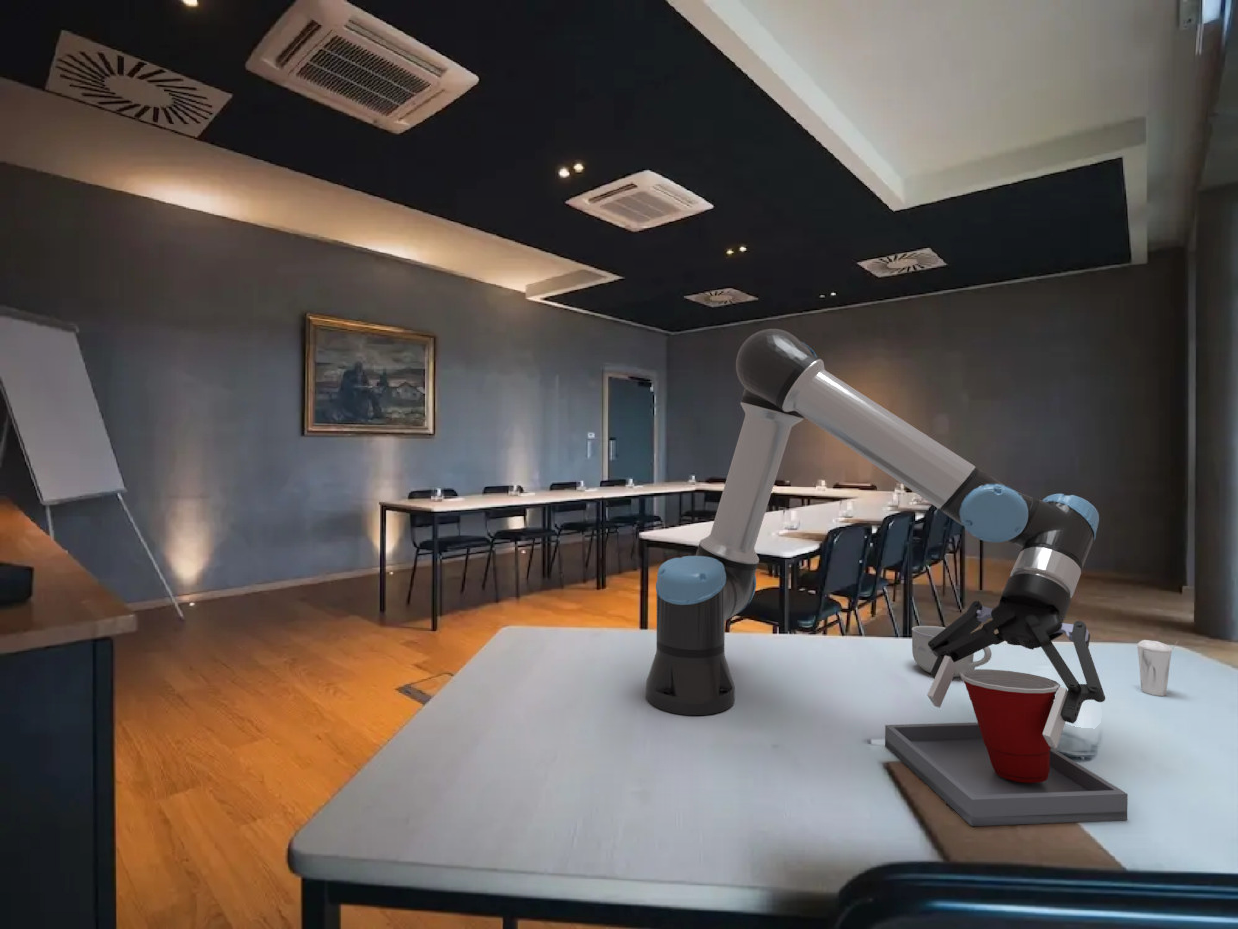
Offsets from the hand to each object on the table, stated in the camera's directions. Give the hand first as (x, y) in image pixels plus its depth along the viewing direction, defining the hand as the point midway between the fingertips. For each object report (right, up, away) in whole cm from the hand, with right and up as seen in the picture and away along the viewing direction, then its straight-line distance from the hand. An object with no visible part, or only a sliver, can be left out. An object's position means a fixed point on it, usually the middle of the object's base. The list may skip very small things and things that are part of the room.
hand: (986, 720), depth 75 cm
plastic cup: (+4, -7, -1) cm, 8 cm away
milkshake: (+49, -8, +29) cm, 57 cm away
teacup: (+17, -8, +38) cm, 43 cm away
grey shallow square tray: (+1, -8, +1) cm, 8 cm away
